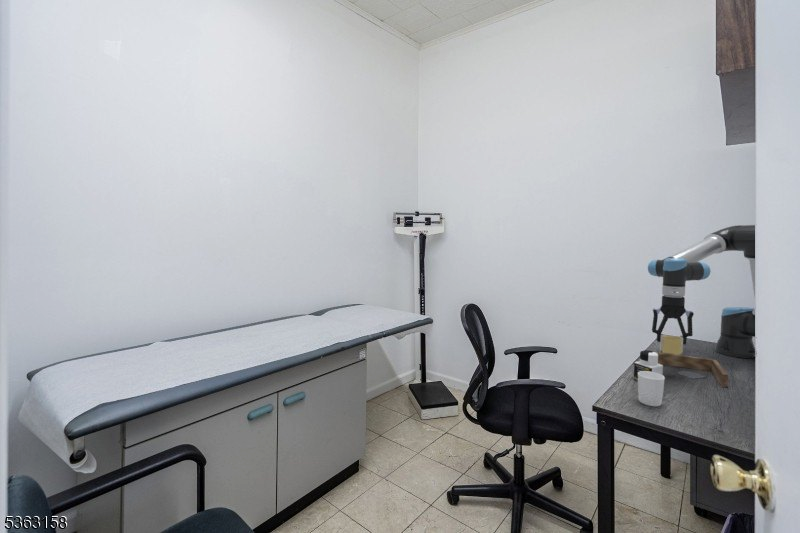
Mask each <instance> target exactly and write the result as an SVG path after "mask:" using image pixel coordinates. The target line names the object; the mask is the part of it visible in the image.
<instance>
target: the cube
mask: <svg viewBox="0 0 800 533" xmlns="http://www.w3.org/2000/svg"><path fill="white" fill-rule="evenodd" d="M681 342H682V340H681V339H680V336H679V335H678V336H677V335H666V334H663V347H662V352H663V353H670V354H675V355H682V353H681Z"/></svg>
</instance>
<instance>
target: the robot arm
mask: <svg viewBox="0 0 800 533" xmlns="http://www.w3.org/2000/svg"><path fill="white" fill-rule="evenodd" d="M755 225H756V224H748V225H747V224H746V225H744V224H743V225H733V226H732V225H731V226H728V227H725V228H722V229H720V230H719V229H718V230H716V231H713V232H712V233H710V234H707V235H706V236H704V238H703V239H702V240H701V241H699V242H697V243H694V244H692V245H691V246H688V247H686V248H684V249H683V250H680V251H677V252H675V253H674V254H672V255H669V256H668V257H666V258H663V259H653V260H651V261H650V262H649V263H648V265H647V271H648V273H649V275H650V276H654V277H657V278H660V277H661V278H662V286H661V287H662V289H661V291H662V293H661V294H662V296H661V306H660V307H659V308H652V312H653V318H652V328H651V332H652V333H654V334H656V341H657V343H659V351H660V350H661V351H662V347H663V335H664V334H663V331H664V328H665V325H666V323H667V322H668V320H669V319H674V320H676V321H677V324H678V326H679V329H680V332H681V335H679V337H680V339H681V340H682V342H681V354H683V350H684V345H685V346H686V345H687V338H688V337H693V317H694V315H695V314H694V312H693V311H691V310H690V311H689V310H686V308H685V303H686V302H685V300H686V299H685V295H686V282H690V281H702V280H705V279H707V278H709V276H710V275H711V272H712V271H711V268H710V266H709V265H708V264H707V263H706V262H701V261H702V260H704V259H706V258H708V257H710V256H712V255H714V254H715V255H717V254H721V253H723V252H730V251H731V252H732V251H735V252H743V258H745V259H747V260H749V261H748V262H749V265H750V273H751V274H750V275H751V280H752V288H753V289H752V290H753V295H754V297H755ZM755 309H756V308H754V307H746V306H745V307H744V306H740V307H739V306H733V307H731V306H729V307H725V308H723V309H722V311H721V316H720V317H721V322H720V335H719V338H718V340H717V342H716V344H715V346H714V351H715V352H716V353H718V354H721V355H724V356H728V357H735V358H739V357H741V359H755V358H754V355H755V349H756V347H755V344H754V341H753V337H754V338H756V337H755ZM660 312H661V313H662V314H663V317H662V320H661V321H660V324H659V326H658V328H657V325H658V318H659V317H658V316H659V314H660ZM684 314H685V315H686V321H687V322H686V323H687V325H686V326H687V331H686V329H685V326H684V323H683V320H682V318H681V317H682V316H683V315H684ZM751 357H752V358H751Z"/></svg>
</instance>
